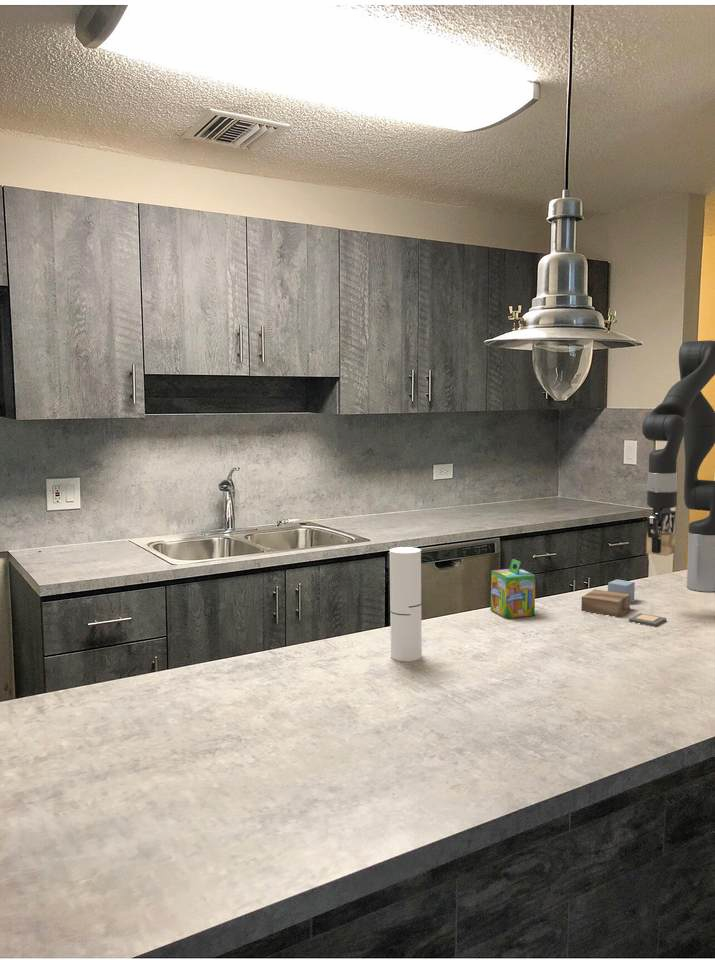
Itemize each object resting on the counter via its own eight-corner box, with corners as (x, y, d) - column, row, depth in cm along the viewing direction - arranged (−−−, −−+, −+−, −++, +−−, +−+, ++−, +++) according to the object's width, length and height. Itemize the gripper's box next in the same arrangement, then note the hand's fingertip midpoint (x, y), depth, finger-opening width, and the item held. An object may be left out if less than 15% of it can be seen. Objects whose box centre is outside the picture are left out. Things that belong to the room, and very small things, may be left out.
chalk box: (489, 610, 213) (489, 558, 212) (519, 607, 216) (519, 556, 215) (505, 619, 205) (506, 565, 203) (536, 616, 207) (536, 562, 206)
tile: (640, 616, 206) (640, 612, 206) (666, 620, 201) (666, 617, 201) (628, 621, 201) (629, 618, 201) (655, 626, 196) (655, 623, 196)
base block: (594, 604, 219) (594, 589, 218) (629, 610, 213) (630, 594, 212) (581, 612, 211) (581, 596, 211) (617, 618, 205) (617, 602, 204)
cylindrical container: (427, 658, 175) (426, 551, 172) (398, 663, 172) (397, 554, 170) (413, 649, 182) (412, 546, 179) (385, 653, 179) (384, 548, 176)
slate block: (616, 597, 225) (616, 579, 225) (634, 600, 221) (634, 582, 221) (607, 601, 221) (608, 582, 221) (626, 604, 217) (626, 585, 217)
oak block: (654, 550, 211) (655, 530, 210) (674, 552, 207) (675, 532, 207) (646, 553, 207) (646, 533, 206) (666, 555, 203) (667, 535, 203)
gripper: (658, 485, 213) (657, 545, 215) (637, 490, 202) (635, 553, 204) (686, 487, 208) (684, 548, 210) (665, 493, 197) (664, 557, 199)
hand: (660, 550), depth 207 cm, fingers closed on oak block, 5 cm apart
